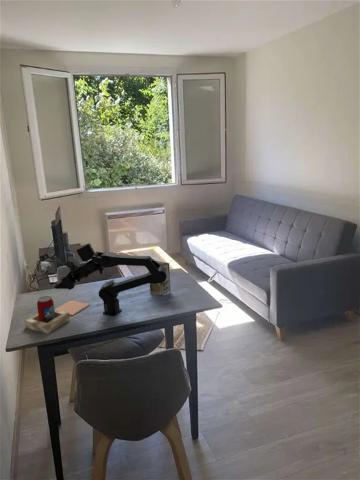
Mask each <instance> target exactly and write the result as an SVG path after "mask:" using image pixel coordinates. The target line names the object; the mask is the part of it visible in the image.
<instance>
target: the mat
mask: <svg viewBox="0 0 360 480" xmlns="http://www.w3.org/2000/svg"><path fill="white" fill-rule="evenodd" d="M89 306H91V305H90V303H86V302H82V301H76V300H68V301H67V302H66V303H63V304H61V305H60V306H58V307H57V308H54V310H59V311H63V312H68V313H69V316H71V317H73V316H75V315H77V314H78V313H80V312H82V311H83V310H84V309H87V308H88V307H89Z"/></svg>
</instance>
